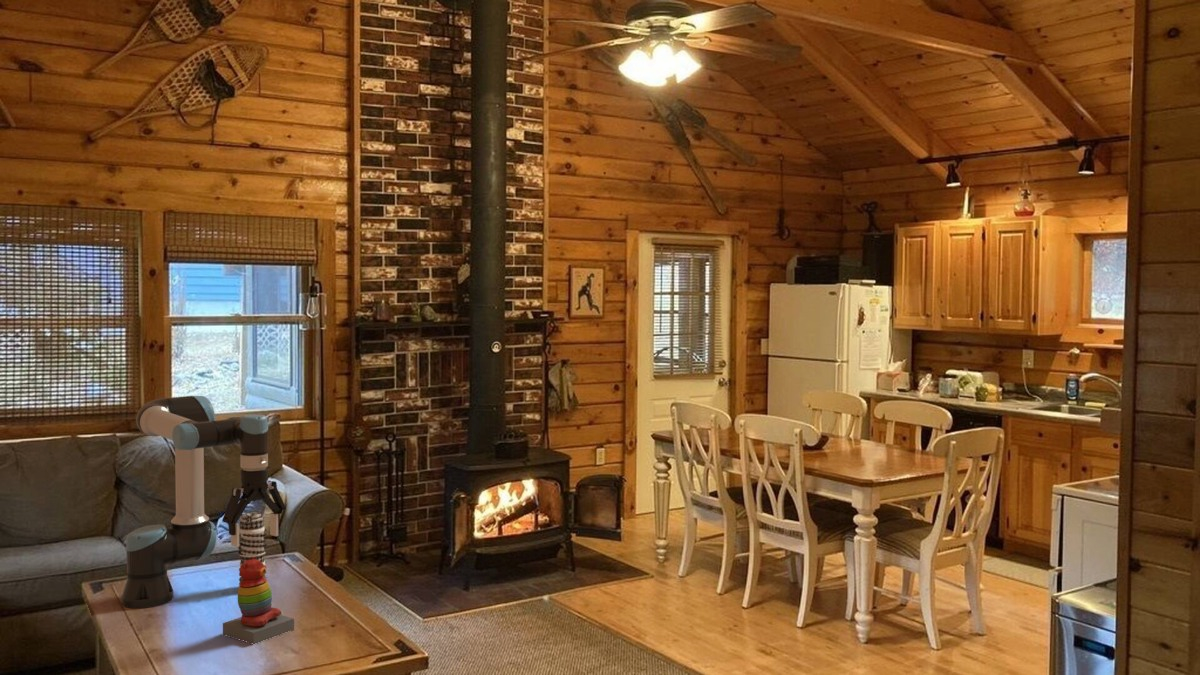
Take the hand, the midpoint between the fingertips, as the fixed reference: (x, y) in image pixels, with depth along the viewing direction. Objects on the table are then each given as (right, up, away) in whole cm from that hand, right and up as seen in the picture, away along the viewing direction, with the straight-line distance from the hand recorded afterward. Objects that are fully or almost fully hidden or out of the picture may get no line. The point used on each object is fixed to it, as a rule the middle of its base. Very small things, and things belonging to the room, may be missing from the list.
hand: (255, 540), depth 286 cm
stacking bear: (+1, -23, 0) cm, 23 cm away
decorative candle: (-15, -25, +42) cm, 51 cm away
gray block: (+1, -27, 0) cm, 27 cm away
